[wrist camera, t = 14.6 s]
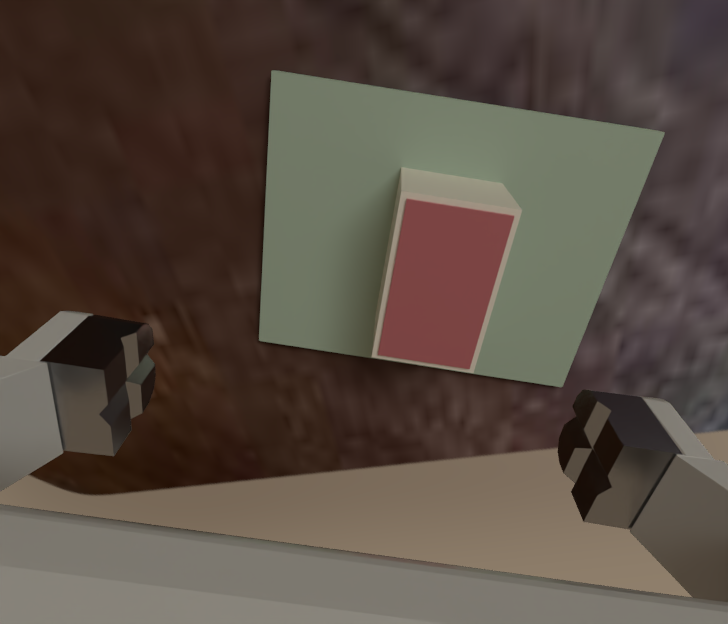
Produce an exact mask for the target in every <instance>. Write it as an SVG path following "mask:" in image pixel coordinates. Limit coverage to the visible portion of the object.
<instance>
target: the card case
mask: <svg viewBox="0 0 728 624" xmlns="http://www.w3.org/2000/svg"><path fill="white" fill-rule="evenodd" d="M521 213H522V209H521V208H520V206H519V205H518V204H517V202H516V201H515V200H514V198H513V197H512V195H511V194H510V193H509V191H508V190H507V189H506V187H505V186H504V185H503V183H497V182H491V181H485V180H479V179H472V178H466V177H460V176H454V175H448V174H441V173H435V172H429V171H423V170H416V169H410V168H404V167H401V172H400V178H399V183H398V189H397V195H396V201H395V206H394V212H393V218H392V223H391V229H390V235H389V240H388V246H387V252H386V258H385V263H384V269H383V275H382V280H381V286H380V292H379V297H378V303H377V309H376V316H375V326H374V337H373V347H372V357H373V358H380V359H386V360H393V361H399V362H405V363H412V364H418V365H424V366H431V367H437V368H444V369H450V370H456V371H463V372H469V373H474V370H475V366H476V363H477V360H478V356H479V353H480V350H481V346H482V343H483V340H484V336H485V333H486V330H487V326H488V323H489V320H490V316H491V313H492V310H493V306H494V303H495V300H496V296H497V293H498V290H499V286H500V283H501V280H502V276H503V273H504V270H505V266H506V263H507V260H508V256H509V253H510V250H511V246H512V243H513V240H514V236H515V233H516V230H517V226H518V223H519V220H520V216H521Z"/></svg>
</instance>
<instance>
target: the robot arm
mask: <svg viewBox="0 0 728 624" xmlns="http://www.w3.org/2000/svg"><path fill="white" fill-rule="evenodd" d="M153 345H154V340H153V330H152V328H151V327H150V325H149V324H147V323H141V322H135V321H129V320H123V319H118V318H112V317H106V316H100V315H92V314H89V313H81V312H74V311H60V312H59V313H58V314H57V315H55V316H54V317H53V318H52V319H51V320H49V321H48V322H47V323H46V324H44V325H43V326H42V327H41V328H40V329H38V330H37V331H36V332H35V333H33V334H32V335H31V336H30V337H29V338H27V339H26V340H25V341H24V342H22V343H21V344H20V345H19V346H18V347H16V348H15V349H14V350H13V351H11V352H10V353H9V354H8V355H7V356H0V491H2V490H4V489H5V488H7V487H9V486H10V485H12V484H13V483H15V482H17V481H18V480H20V479H22V478H23V477H25V476H26V475H28V474H30V473H31V472H33V471H35V470H36V469H38V468H40V467H41V466H43V465H44V464H46V463H48V462H49V461H51V460H53V459H54V458H56V457H58V456H59V455H61V454H62V453H63V450H64V451H73V452H81V453H90V454H99V455H108V456H114V455H115V454H116V452H117V451H118V449H119V448H120V446H121V445H122V443H123V442H124V440H125V439H126V437H127V436H128V434H129V433H130V431H131V430H132V429H131V418H133V417H135V416H137V415H139V414H141V413H143V411H144V410H145V408H146V407H147V405H148V403H149V401H150V398H151V395H152V392H153V389H154V384H155V376H156V374H155V364H154V362H153V361H152V360H151V359H150V357H149V356H148V355H147V353H148V352H149V350H150V349H151V348H152V346H153ZM573 409H574V412H575V414H576V417H575V418H573V419H572V420H570V421H569V422H567V423H566V424H564V427H563V429H562V432H561V434H560V437H559V445H558V456H559V462H560V465H561V468H562V470H563V473H564V474H565V475H566V476H567V477H569V478H570V479H571V480H572V481H573V482H574V483H575V485H574V487H573V489H572V491H571V493H572V495H573V497H574V500H575V502H576V505H577V507H578V509H579V512H580V514H581V517H582V519H583V521H584V522H589V523H595V524H601V525H606V526H613V527H619V528H624V529H630V532H631V533H632V535H633V536H634V537H636V538H637V540H638V541H639V542H640V543H641V544H642V545H643V546H644V547H645V548H646V549H647V550H648V551H649V552H650V553H651V554H652V555H653V556H654V557H655V558H656V559H657V561H658V562H659V563H660V564H661V565H662V566H663V567H664V568H665V569H666V570H667V571H668V572H669V573H670V574H671V575H672V576H673V577H674V578H675V579H676V580H677V581H678V582H679V583H680V584H681V586H682V587H684V589H685V590H686V591H687V592H688V593H689V594H690V595H691V596H692V597H693V598H692V597H684V596H676V595H669V594H661V593H654V592H646V591H639V590H631V589H623V588H616V587H609V586H602V585H594V584H587V583H580V582H573V581H566V580H558V579H551V578H544V577H536V576H529V575H522V574H514V573H507V572H500V571H493V570H485V569H478V568H471V567H463V566H456V565H448V564H441V563H433V562H426V561H419V560H411V559H404V558H396V557H389V556H382V555H374V554H366V553H359V552H351V551H344V550H337V549H329V548H322V547H314V546H307V545H299V544H291V543H284V542H277V541H269V540H262V539H254V538H247V537H239V536H232V535H225V534H217V533H209V532H202V531H195V530H188V529H180V528H173V527H165V526H158V525H150V524H143V523H135V522H128V521H120V520H113V519H106V518H98V517H91V516H83V515H76V514H69V513H62V512H54V511H47V510H39V509H32V508H24V507H16V506H10V505H2V504H0V624H728V464H727V463H725V462H724V461H718V460H714V459H713V457H712V456H711V455H710V454H709V452H708V451H707V450H706V449H705V447H704V446H703V445H702V443H701V442H700V441H699V440H698V438H697V437H696V436H695V435H694V433H693V432H692V431H691V429H690V428H689V427H688V426H687V424H686V423H685V422H684V421H683V419H682V418H681V417H680V416H679V414H678V413H677V412H676V410H675V409H674V408H673V407H672V405H671V404H670V403H669V402H667V401H665V400H663V399H659V398H650V397H641V396H630V395H622V394H614V393H607V392H599V391H591V390H582V391H581V392H580V394H579V395H578V396H577V398H576V400H575V402H574V404H573Z"/></svg>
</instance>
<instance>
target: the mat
mask: <svg viewBox="0 0 728 624" xmlns="http://www.w3.org/2000/svg"><path fill="white" fill-rule="evenodd" d="M664 134H665V133H664V132H661V131H657V130H651V129H644V128H638V127H632V126H625V125H619V124H613V123H606V122H600V121H594V120H587V119H581V118H575V117H568V116H562V115H555V114H549V113H543V112H536V111H530V110H524V109H517V108H511V107H505V106H498V105H492V104H486V103H479V102H473V101H467V100H460V99H454V98H448V97H441V96H435V95H429V94H422V93H416V92H410V91H403V90H397V89H391V88H384V87H378V86H372V85H365V84H359V83H353V82H346V81H340V80H334V79H327V78H321V77H314V76H308V75H302V74H295V73H289V72H283V71H276V70H272V72H271V94H270V115H269V136H268V157H267V178H266V200H265V221H264V242H263V263H262V285H261V306H260V327H259V341H263V342H270V343H276V344H283V345H289V346H296V347H302V348H309V349H315V350H322V351H328V352H335V353H341V354H348V355H354V356H361V357H367V358H373V357H372V347H373V337H374V326H375V316H376V309H377V303H378V297H379V292H380V286H381V280H382V275H383V269H384V263H385V258H386V252H387V246H388V240H389V235H390V229H391V223H392V218H393V212H394V206H395V201H396V195H397V189H398V183H399V178H400V172H401V167H404V168H410V169H416V170H423V171H429V172H435V173H441V174H448V175H454V176H460V177H466V178H472V179H479V180H485V181H491V182H497V183H503V185H504V186H505V187H506V189H507V190H508V191H509V193H510V194H511V195H512V197H513V198H514V200H515V201H516V202H517V204H518V205H519V206H520V208H521V209H522V213H521V216H520V220H519V223H518V226H517V230H516V233H515V236H514V240H513V243H512V246H511V250H510V253H509V256H508V260H507V263H506V266H505V270H504V273H503V276H502V280H501V283H500V286H499V290H498V293H497V296H496V300H495V303H494V306H493V310H492V313H491V316H490V320H489V323H488V326H487V330H486V333H485V336H484V340H483V343H482V346H481V350H480V353H479V356H478V360H477V363H476V366H475V370H474V373H472V374H478V375H485V376H491V377H498V378H504V379H511V380H517V381H524V382H531V383H537V384H544V385H550V386H557V387H562V386H563V384H564V381H565V379H566V377H567V374H568V372H569V369H570V367H571V364H572V362H573V359H574V357H575V354H576V352H577V349H578V347H579V344H580V342H581V339H582V337H583V334H584V332H585V329H586V327H587V324H588V322H589V320H590V317H591V315H592V312H593V310H594V307H595V305H596V302H597V300H598V297H599V295H600V292H601V290H602V287H603V285H604V282H605V280H606V277H607V275H608V272H609V270H610V267H611V265H612V263H613V260H614V258H615V255H616V253H617V250H618V248H619V245H620V243H621V240H622V238H623V235H624V233H625V230H626V228H627V225H628V223H629V220H630V218H631V215H632V213H633V210H634V208H635V205H636V203H637V201H638V198H639V196H640V193H641V191H642V188H643V186H644V183H645V181H646V178H647V176H648V173H649V171H650V168H651V166H652V163H653V161H654V158H655V156H656V153H657V151H658V148H659V146H660V144H661V141H662V139H663V136H664ZM374 359H380V358H374ZM381 360H386V359H381ZM387 361H393V360H387ZM394 362H399V361H394ZM400 363H405V362H400ZM407 364H412V363H407ZM413 365H418V364H413ZM420 366H424V365H420ZM426 367H431V366H426ZM433 368H437V367H433ZM439 369H444V368H439ZM446 370H450V369H446ZM452 371H456V370H452ZM459 372H463V371H459ZM465 373H469V372H465Z"/></svg>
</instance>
